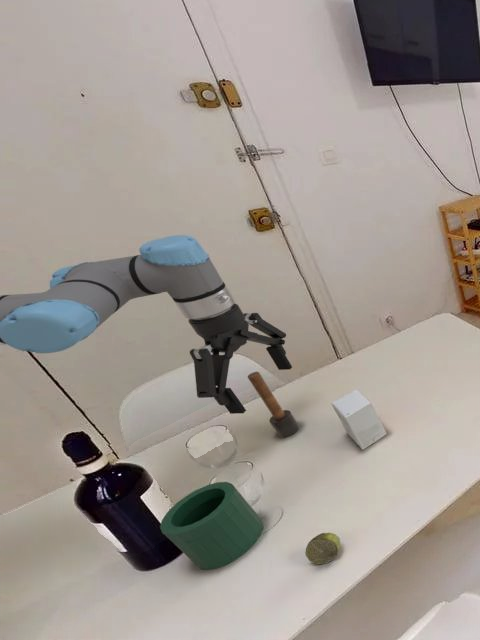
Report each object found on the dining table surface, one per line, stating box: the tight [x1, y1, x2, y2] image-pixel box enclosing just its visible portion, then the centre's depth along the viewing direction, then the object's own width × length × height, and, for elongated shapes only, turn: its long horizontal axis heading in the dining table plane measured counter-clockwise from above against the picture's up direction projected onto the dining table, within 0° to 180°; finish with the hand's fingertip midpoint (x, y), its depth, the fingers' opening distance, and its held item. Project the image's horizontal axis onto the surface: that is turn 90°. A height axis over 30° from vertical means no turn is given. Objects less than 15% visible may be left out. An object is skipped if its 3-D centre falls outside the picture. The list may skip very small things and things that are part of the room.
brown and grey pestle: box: [247, 371, 300, 439], centre depth 94 cm, size 4×4×18 cm
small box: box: [330, 389, 388, 451], centre depth 95 cm, size 8×6×10 cm
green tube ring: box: [159, 481, 264, 571], centre depth 73 cm, size 9×9×11 cm
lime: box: [304, 532, 341, 565], centre depth 72 cm, size 4×5×5 cm
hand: (263, 389), depth 92 cm, fingers open, 13 cm apart
